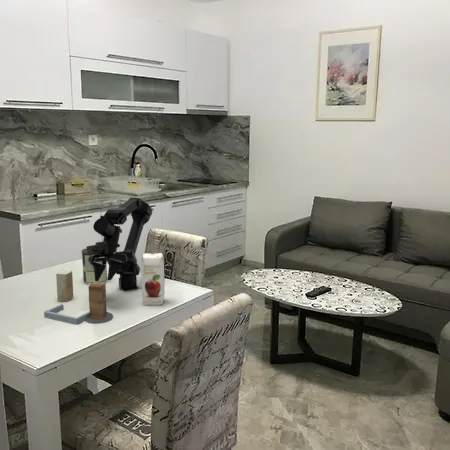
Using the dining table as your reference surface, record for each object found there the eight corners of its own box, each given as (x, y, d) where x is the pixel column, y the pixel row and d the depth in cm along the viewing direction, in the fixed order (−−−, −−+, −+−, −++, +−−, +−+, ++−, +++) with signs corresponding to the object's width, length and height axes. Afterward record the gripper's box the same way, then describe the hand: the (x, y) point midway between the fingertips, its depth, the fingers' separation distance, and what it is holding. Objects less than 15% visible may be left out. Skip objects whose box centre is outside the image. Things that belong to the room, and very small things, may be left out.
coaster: (107, 310, 179) (107, 309, 179) (117, 319, 171) (117, 318, 171) (80, 315, 174) (80, 314, 174) (89, 325, 166) (88, 324, 165)
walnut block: (94, 314, 175) (93, 282, 172) (106, 314, 174) (105, 282, 172) (89, 318, 170) (88, 286, 168) (102, 319, 170) (100, 286, 167)
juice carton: (143, 299, 191) (141, 252, 187) (165, 298, 192) (164, 252, 188) (141, 306, 184) (140, 257, 180) (164, 305, 184) (163, 257, 181)
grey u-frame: (61, 309, 180) (61, 303, 180) (93, 316, 174) (93, 310, 173) (44, 316, 173) (43, 311, 172) (76, 324, 166) (76, 319, 166)
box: (67, 301, 187) (65, 274, 185) (57, 301, 188) (55, 273, 186) (74, 297, 192) (72, 270, 190) (64, 296, 193) (62, 269, 191)
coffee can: (78, 281, 211) (76, 250, 208) (97, 276, 219) (95, 245, 217) (93, 286, 205) (92, 254, 203) (112, 280, 214) (111, 249, 211)
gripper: (80, 237, 187) (71, 277, 183) (105, 232, 174) (96, 274, 170) (105, 245, 194) (97, 283, 190) (131, 240, 181) (123, 281, 177)
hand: (102, 280), depth 181 cm, fingers open, 9 cm apart
